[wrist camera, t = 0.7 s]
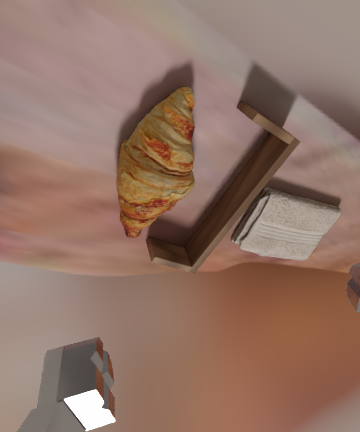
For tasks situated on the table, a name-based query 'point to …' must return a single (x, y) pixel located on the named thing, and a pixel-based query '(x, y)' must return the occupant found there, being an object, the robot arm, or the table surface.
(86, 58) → the table surface
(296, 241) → the washcloth
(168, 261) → the frame
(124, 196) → the croissant
